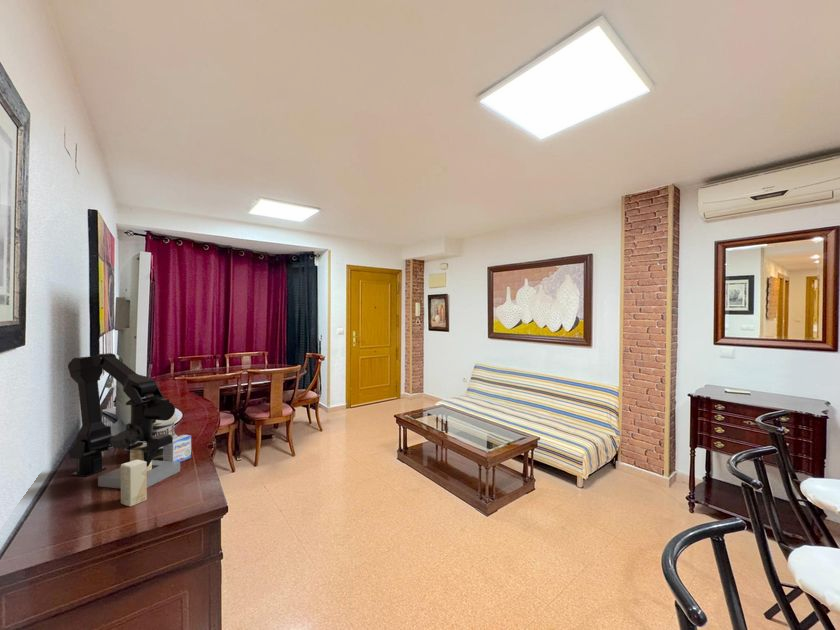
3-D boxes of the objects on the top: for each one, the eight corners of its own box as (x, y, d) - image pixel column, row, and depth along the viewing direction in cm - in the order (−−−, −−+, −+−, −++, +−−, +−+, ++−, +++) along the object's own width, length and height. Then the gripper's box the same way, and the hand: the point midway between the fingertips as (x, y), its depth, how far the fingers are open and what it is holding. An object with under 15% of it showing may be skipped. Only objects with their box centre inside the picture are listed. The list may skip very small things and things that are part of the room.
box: (147, 500, 101) (147, 461, 101) (129, 507, 97) (130, 467, 98) (137, 496, 103) (137, 458, 104) (119, 503, 100) (120, 464, 100)
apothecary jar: (138, 465, 125) (139, 415, 126) (138, 455, 135) (139, 408, 135) (179, 457, 133) (180, 409, 133) (176, 448, 142) (177, 403, 143)
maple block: (129, 474, 114) (130, 449, 114) (141, 469, 118) (141, 445, 118) (140, 475, 113) (140, 450, 113) (151, 470, 117) (152, 446, 117)
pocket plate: (98, 486, 110) (98, 476, 110) (140, 467, 123) (140, 459, 124) (141, 490, 107) (141, 480, 107) (180, 471, 121) (180, 462, 121)
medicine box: (172, 466, 125) (173, 442, 125) (162, 465, 126) (162, 441, 126) (191, 457, 132) (191, 434, 133) (181, 457, 133) (181, 434, 133)
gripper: (91, 424, 109) (90, 474, 109) (142, 427, 106) (142, 479, 106) (127, 414, 120) (126, 460, 120) (174, 417, 117) (173, 464, 117)
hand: (141, 466), depth 115 cm, fingers closed on maple block, 4 cm apart
